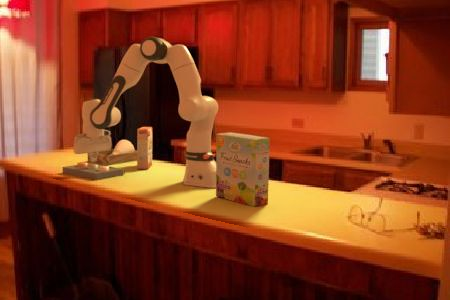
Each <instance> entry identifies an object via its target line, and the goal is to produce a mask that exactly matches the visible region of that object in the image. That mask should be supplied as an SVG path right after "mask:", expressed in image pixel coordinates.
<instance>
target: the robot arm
mask: <svg viewBox="0 0 450 300" xmlns="http://www.w3.org/2000/svg"><path fill="white" fill-rule="evenodd" d="M152 62H153V63H155V64H160V65H166V64H168V65H169V67H170V70H171V73H172V75H173V78H174V81H175V83H176V86H177V90H178V97H179V104H178V115H179V116H180V118H181V119H183V120H185V121H188V122H190V126H189V128H188V129H189V130H188V131H187V133H186V150H185V160H186V161H185V169H184V171H185V172H184V176H183V178H182V182H183V185H185V186H194V187H201V188H208V189H216V160H215V158H214V157H215V156H216V153H213V152H212V132H213V127H214V123H215V118H216V116H217V114H218V112H219V104H218V101H217V100H216V99H215V98H213V97H211V96H210V95H209V96H208V95H202V91H201V83H202V78H201V76H200V73H199V70H198V68H197V66H196V64H195V60H194V58H193V56H192V55H191V53H190V51H189V49H188V48H187V46H185V45H184V44H179V43H178V44H174V45H173V44H172V43H171V42H169V41H168V40H167V41H166V39H164V38H161V37H160V38H159V37H155V36H148V37H145V38H144V39H143V40H141V43H133V44H131V45H130V47H129V48H128V49H127V50H126V53H125V54H124V56H123V57H122V60H121V62H120V64H119V66H118V68H117V70H116V72H115V74H114V77H112V78H113V79H112V80H111V82H110V84H109V86H108V87H107V88H106V91H105V92H104V94H103V96H102V98H101V99H98V98H92V99H87V100H84V101H83V103H82V109H81V114H82V115H81V117H82V121H83V124H82V133H80V134H79V133H78V134H76V135H75V136H74V138H73V153H74V155H75V154H76V155H82V154H86V155H87V157H88V156H89V158H90V162H89V163H92V162H93V161H97V156H98V154H99V151H106V150H112V137H111V131H110V130H107V128H111V127H113V126H116V125H117V124H119V123H120V121H121V120H122V119H121V118H122V113H121V111H120V110H119V108H118V107H115V106H116V105H117V102H118V100H119V99H120V97H121V95H122V94H123V93H124V92H125V91H126V90H128V89H130V88H132V87H134V86H136V85H137V84H138V82H139V81H140V79H141V77H142V76H143V75H144V71H145V69H146V67H147V65H149V64H150V63H152ZM93 152H94V157H92V155H93Z"/></svg>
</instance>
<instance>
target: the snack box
mask: <svg viewBox="0 0 450 300" xmlns="http://www.w3.org/2000/svg"><path fill="white" fill-rule="evenodd" d="M215 139H216V142H215V143H216V144H215V145H216V146H215V149H216V150H215V151H216V153H215V159H216V160H215V162H216V188H215V196H216V197H217V198H218V197H219V198H221V199H225V200H228V201H231V202H236V203H239V204H242V205H246V206H250V207H254V208H255V207H260V206H263V205H268V204H269V182H270V181H269V179H270V177H269V175H270V171H269V170H270V143H271V142H270V141H271V138H270V137H266V136H259V135H251V134H246V133H239V132H238V133H237V132H230V131H229V132H221V133H220V132H219V133H216V136H215Z"/></svg>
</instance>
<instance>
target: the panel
mask: <svg viewBox="0 0 450 300" xmlns="http://www.w3.org/2000/svg"><path fill="white" fill-rule="evenodd" d="M87 163H88V165H89V164H94V163H92V162H87ZM100 166H105V165H103V164H98V167H100ZM62 174H64V175H65V174H66V175H71V176H75V177H80V178H84V179H90V180H95V181H99V180H100V181H101V180H104V179H106V180H107V179H111V178H116V177H122V176H124V174H125V170H124V168H120V167H114V166H109V171H104V172H102V171H98V169H88V167H82V168H81V167H77V164H75V165H67V166H62Z"/></svg>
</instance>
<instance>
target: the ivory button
mask: <svg viewBox="0 0 450 300" xmlns="http://www.w3.org/2000/svg"><path fill="white" fill-rule="evenodd" d="M109 167H110V165H104V166H100V167H98V171H102V172H104V171H109Z"/></svg>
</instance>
